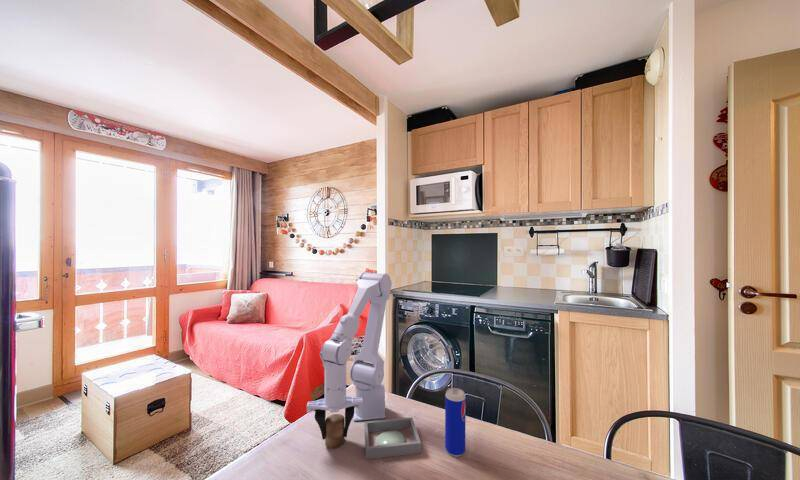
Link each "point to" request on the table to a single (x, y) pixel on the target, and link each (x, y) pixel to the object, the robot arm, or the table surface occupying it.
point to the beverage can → (455, 421)
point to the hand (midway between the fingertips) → (334, 435)
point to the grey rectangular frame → (391, 448)
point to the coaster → (390, 438)
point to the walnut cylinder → (334, 431)
